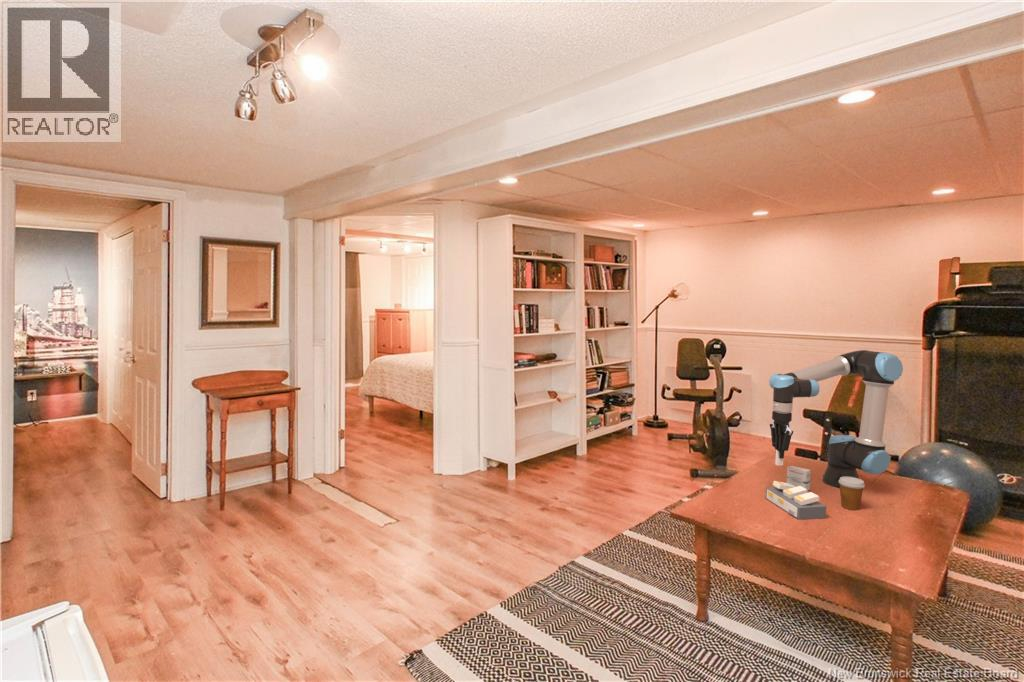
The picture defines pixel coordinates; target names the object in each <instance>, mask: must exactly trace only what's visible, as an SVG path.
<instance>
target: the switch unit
mask: <svg viewBox="0 0 1024 682" xmlns="http://www.w3.org/2000/svg"><path fill="white" fill-rule="evenodd" d="M765 488H766V489H765V499H766V500H767V501H769V502H771V504H773V505H775V506H776V507H779V508H780V509H782V510H783V511H784V512H786V513H787V514H789V515H790V516H792V517H794V518H795V519H796V520H799V521H802V520H817V519H819V520H820V519H826V518H827V505H825V504H823V503H822V502H820V501H816V502H813V503H809V504H806V505H802V506H801V505H800V504H798V503H796V502H795V501H794V498H792V499H790V498H788V497H786V496H785V495H784V494H783V489H779V488H777V487H775V486H771V487H765Z"/></svg>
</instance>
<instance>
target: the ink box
mask: <svg viewBox="0 0 1024 682" xmlns="http://www.w3.org/2000/svg"><path fill="white" fill-rule="evenodd" d="M811 471H812V470H811V469H808V468H803V467H799V466H794V465H790V466H787V467H786V482H785V483H790V484H792V485H794V486H795V487H797V486H801V487H803V488H805V489H807V492H808V493H809V492H811V491H810V490H811V477H812V475H811V474H812V473H811Z"/></svg>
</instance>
